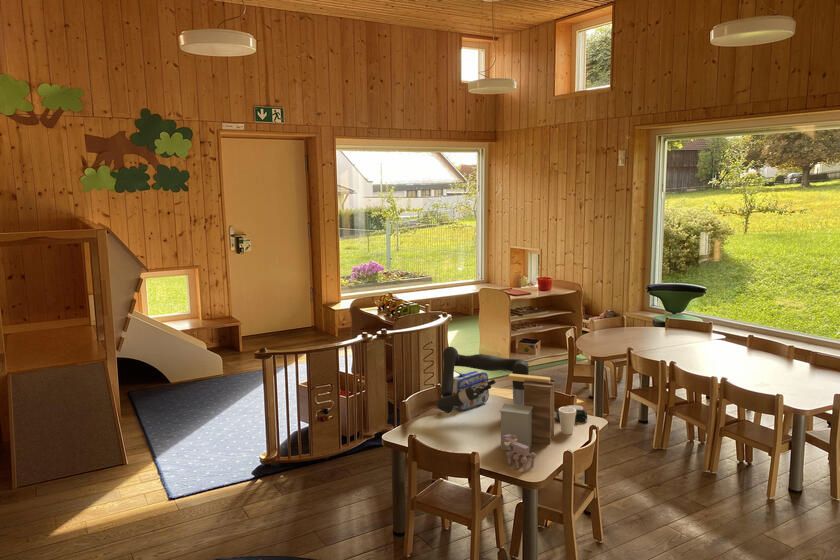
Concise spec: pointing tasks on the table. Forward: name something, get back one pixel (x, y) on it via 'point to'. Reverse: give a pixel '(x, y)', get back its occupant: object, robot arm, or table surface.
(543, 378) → the slat
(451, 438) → the table surface
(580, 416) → the miniature car
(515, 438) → the toy sheep
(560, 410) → the foam cup
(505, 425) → the grey upright carton
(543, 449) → the table surface
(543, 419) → the cabinet
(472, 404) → the lunch box
